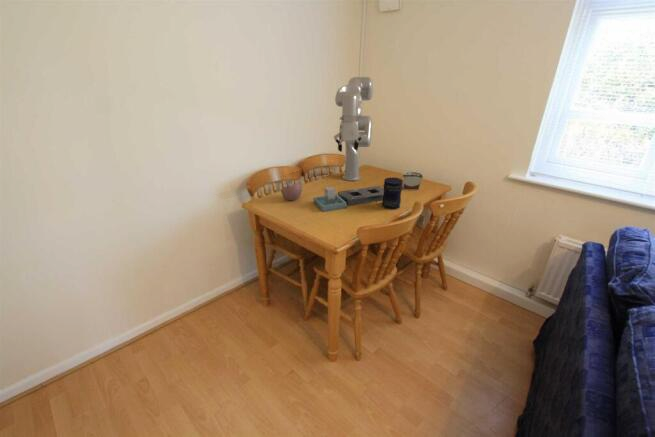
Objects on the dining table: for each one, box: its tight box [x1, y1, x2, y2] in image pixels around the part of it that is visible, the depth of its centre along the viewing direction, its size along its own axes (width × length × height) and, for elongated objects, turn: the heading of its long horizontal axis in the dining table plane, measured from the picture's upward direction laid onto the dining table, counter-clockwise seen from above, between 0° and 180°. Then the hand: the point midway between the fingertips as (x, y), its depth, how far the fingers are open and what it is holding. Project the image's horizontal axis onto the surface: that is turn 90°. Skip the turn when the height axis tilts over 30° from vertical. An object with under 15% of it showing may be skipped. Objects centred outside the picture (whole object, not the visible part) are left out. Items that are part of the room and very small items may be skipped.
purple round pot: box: [280, 179, 303, 201], centre depth 174 cm, size 12×12×11 cm
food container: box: [402, 171, 424, 191], centre depth 193 cm, size 12×6×10 cm, turn 84°
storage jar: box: [381, 177, 404, 210], centre depth 165 cm, size 10×10×15 cm
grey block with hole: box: [337, 185, 384, 207], centre depth 178 cm, size 14×28×4 cm, turn 113°
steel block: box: [324, 186, 336, 205], centre depth 167 cm, size 4×4×9 cm
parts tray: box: [313, 193, 348, 213], centre depth 168 cm, size 14×14×3 cm
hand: (348, 150), depth 171 cm, fingers open, 9 cm apart
